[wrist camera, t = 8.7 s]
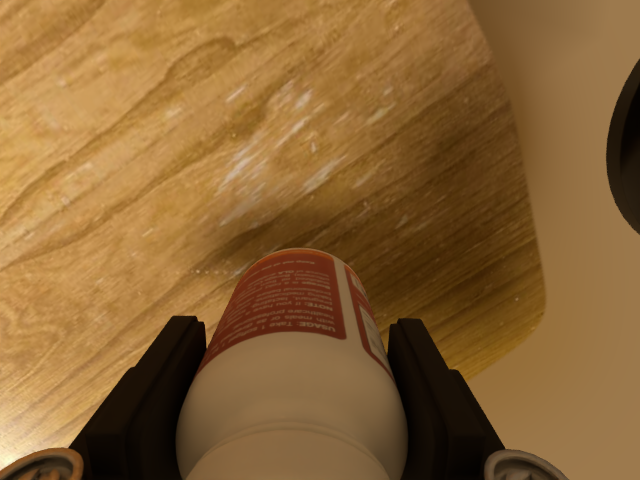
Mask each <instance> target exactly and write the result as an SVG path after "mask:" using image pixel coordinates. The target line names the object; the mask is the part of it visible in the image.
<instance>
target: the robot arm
mask: <svg viewBox="0 0 640 480" xmlns="http://www.w3.org/2000/svg"><path fill="white" fill-rule="evenodd" d="M206 350H207V348H206V334H205V324H204V322H198V319H197V317H196V316H173V317H171V319H170V320H169V321H168V323H167V324H166V325H165V327H164V328H163V329H162V331H161V332H160V334H159V335H158V336H157V338H156V339H155V340H154V342H153V343H152V344H151V346H150V347H149V348H148V350H147V351H146V352H145V354H144V355H143V356H142V358H141V359H140V360H139V362H138V363H137V364H136V366H135V367H131V368H130V369H129V370H128V371H127V372H126V373H125V374H124V375H123V377H122V378H121V379H120V381H119V382H118V383H117V385H116V386H115V387H114V388H113V390H112V391H111V392H110V394H109V395H108V396H107V398H106V399H105V400H104V402H103V403H102V404H101V405H100V407H99V408H98V409H97V411H96V412H95V413H94V415H93V416H92V417H91V419H90V420H89V421H88V422H87V424H86V425H85V426H84V428H83V429H82V430H81V432H80V433H79V434H78V436H77V437H76V438H75V440H74V441H73V442H72V443H71V445H70V446H69V447H68V448H63V447H62V448H49V449H45V450H41V451H38V452H34V453H32V454H29V455H27V456H25V457H23V458H20V459H18V460H16V461H15V462H13V463H12V464H10V465H8V466H7V467H5V468H4V469H2V470H1V471H0V480H182V477H181V474H180V471H179V467H178V463H177V457H176V444H175V438H176V428H177V422H178V418H179V414H180V411H181V408H182V405H183V403H184V400H185V398H186V395H187V393H188V390H189V387H190V385H191V383H192V380H193V378H194V376H195V374H196V372H197V370H198V367H199V365H200V363H201V361H202V359H203V357H204V354H205V351H206ZM387 358H388V361H389V364H390V368H391V370H392V373H393V376H394V379H395V382H396V385H397V388H398V391H399V394H400V397H401V401H402V405H403V408H404V411H405V415H406V419H407V426H408V436H409V440H408V454H407V460H406V464H405V467H404V471H403V474H402V476H401V479H400V480H569V479H568V478H567V477H566V476H565V475H564V474H563V473H562V472H561V471H560V470H558V469H557V468H556V467H554V466H553V465H552V464H550V463H549V462H548V461H546V460H544V459H542V458H540V457H538V456H536V455H534V454H530V453H527V452H524V451H520V450H511V449H505V447H504V445H503V444H502V442H501V440H500V439H499V437H498V435H497V434H496V432H495V430H494V429H493V427H492V425H491V424H490V422H489V420H488V419H487V417H486V415H485V413H484V412H483V410H482V409H481V407H480V405H479V403H478V402H477V400H476V398H475V397H474V395H473V394H472V392H471V390H470V388H469V387H468V385H467V383H466V382H465V380H464V378H463V377H462V375H461V374H460V372H459V371H458V370H455V369H449V368H448V367H447V365H446V363H445V361H444V360H443V358H442V356H441V354H440V352H439V351H438V349H437V347H436V345H435V344H434V342H433V340H432V338H431V336H430V335H429V333H428V331H427V329H426V327H425V326H424V324H423V322H422V320H421V319H405V318H399V319H398V321H397V324H391V325H390V330H389V342H388V353H387Z"/></svg>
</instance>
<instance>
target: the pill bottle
mask: <svg viewBox="0 0 640 480" xmlns="http://www.w3.org/2000/svg"><path fill="white" fill-rule="evenodd" d="M408 440H409V436H408V426H407V419H406V415H405V411H404V408H403V405H402V401H401V397H400V394H399V391H398V388H397V385H396V382H395V379H394V376H393V373H392V370H391V368H390V364H389V361H388V358H387V355H386V352H385V349H384V346H383V343H382V340H381V337H380V334H379V330H378V327H377V324H376V322H375V318H374V315H373V312H372V309H371V307H370V304H369V301H368V298H367V295H366V292H365V289H364V287H363V285H362V283H361V281H360V279H359V278H358V276H357V275H356V274H355V272H354V271H353V270H352V269H351V268H350V267H349V266H348V265H347V264H346V263H344V262H343V261H342V260H340V259H339V258H337V257H335V256H333V255H331V254H329V253H326V252H324V251H320V250H316V249H310V248H289V249H283V250H280V251H276V252H273V253H271V254H269V255H267V256H265V257H263V258H261V259H260V260H258V261H257V262H256V263H254V264H253V265H252V266H251V267H250V268H249V269H248V270H247V271H246V272H245V274H244V275H243V276H242V278H241V279H240V281H239V282H238V284H237V286H236V288H235V290H234V292H233V294H232V297H231V299H230V301H229V303H228V305H227V307H226V309H225V311H224V314H223V316H222V318H221V320H220V322H219V324H218V327H217V329H216V331H215V333H214V335H213V337H212V340H211V342H210V344H209V345H208V348H207V350H206V351H205V354H204V357H203V359H202V361H201V363H200V365H199V367H198V370H197V372H196V374H195V376H194V378H193V380H192V383H191V385H190V387H189V390H188V393H187V395H186V398H185V400H184V403H183V405H182V408H181V411H180V414H179V418H178V422H177V428H176V438H175V444H176V457H177V463H178V467H179V471H180V474H181V477H182V480H400V479H401V476H402V474H403V471H404V467H405V464H406V460H407V454H408Z"/></svg>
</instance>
